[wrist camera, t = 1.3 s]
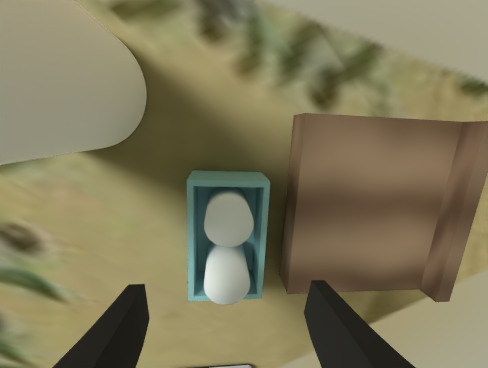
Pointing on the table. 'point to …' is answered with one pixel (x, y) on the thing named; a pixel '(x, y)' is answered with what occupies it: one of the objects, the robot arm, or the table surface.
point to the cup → (63, 82)
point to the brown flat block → (380, 202)
